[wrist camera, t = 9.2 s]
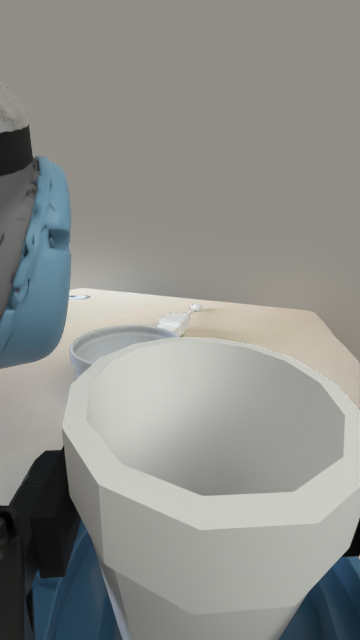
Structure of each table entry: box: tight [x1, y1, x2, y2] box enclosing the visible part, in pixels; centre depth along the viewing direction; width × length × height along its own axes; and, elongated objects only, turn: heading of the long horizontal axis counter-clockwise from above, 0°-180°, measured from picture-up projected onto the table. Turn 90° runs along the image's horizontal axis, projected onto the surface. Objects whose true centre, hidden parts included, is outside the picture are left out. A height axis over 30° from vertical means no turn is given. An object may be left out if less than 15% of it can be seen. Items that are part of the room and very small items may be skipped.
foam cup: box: [62, 337, 360, 640], centre depth 11 cm, size 10×9×13 cm
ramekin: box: [70, 325, 180, 378], centre depth 30 cm, size 13×13×7 cm
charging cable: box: [155, 303, 202, 336], centre depth 61 cm, size 5×32×3 cm, turn 163°
